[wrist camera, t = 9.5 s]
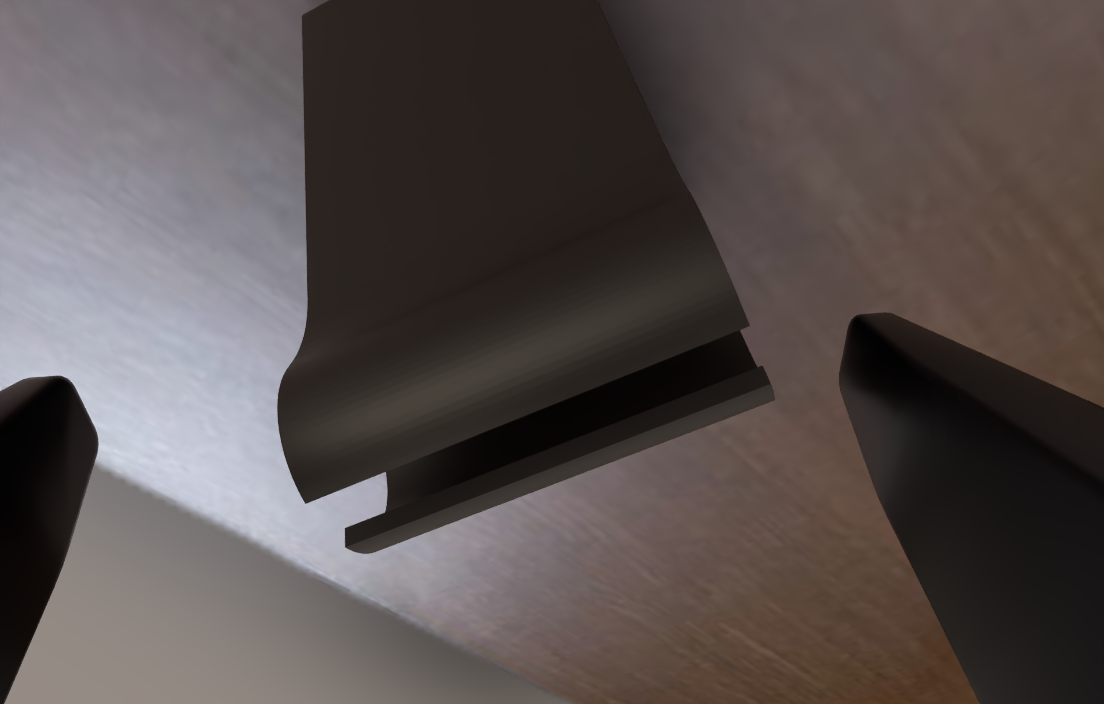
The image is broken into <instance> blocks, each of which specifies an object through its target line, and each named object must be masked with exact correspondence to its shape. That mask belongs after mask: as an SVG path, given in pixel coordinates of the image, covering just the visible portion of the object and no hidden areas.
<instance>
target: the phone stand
mask: <svg viewBox="0 0 1104 704" xmlns="http://www.w3.org/2000/svg"><path fill="white" fill-rule="evenodd" d="M302 39H303V89H304V139H305V189H306V240H307V290H308V310H307V321H306V328H305V333H304V337H303V341H302V343H301V346H300V349H299V351H298V353H297V355H296V357H295V358H294V360H293V362H292V363H291V364H290V366H289V367H288V368H287V370H286V372H285V373H284V375H283V378H282V380H281V384H280V388H279V393H278V406H277V412H278V425H279V433H280V438H281V443H282V447H283V451H284V455H285V458H286V461H287V464H288V467H289V470H290V473H291V475H292V478H293V480H294V482H295V485H296V487H297V489H298V491H299V493H300V495H301V497H302V499H303V500H304V502H305V504H306V503H309V502H311V501H314V500H316V499H319V498H321V497H324V496H326V495H329V494H331V493H334V492H336V491H339V490H341V489H344V488H346V487H349V486H351V485H354V484H356V483H359V482H361V481H364V480H366V479H369V478H371V477H374V476H376V475H379V474H381V473H384V472H386V477H387V487H388V497H387V507H386V511H385V513H383V514H380V515H378V516H375V517H373V518H370V519H367V520H365V521H362V522H360V523H357V524H355V525H352V526H349V527H347V528H345V547H346V548H347V549H349V550H352V551H354V552H357V553H363V554H369V553H373V552H376V551H379V550H381V549H384V548H387V547H389V546H392V545H395V544H397V543H400V542H403V541H405V540H408V539H410V538H413V537H416V536H418V535H421V534H424V533H426V532H429V531H431V530H434V529H437V528H439V527H442V526H445V525H447V524H450V523H453V522H455V521H458V520H460V519H463V518H466V517H468V516H471V515H474V514H476V513H479V512H482V511H484V510H487V509H489V508H492V507H495V506H497V505H500V504H503V503H505V502H508V501H510V500H513V499H516V498H518V497H521V496H524V495H526V494H529V493H532V492H534V491H537V490H539V489H542V488H545V487H547V486H550V485H553V484H555V483H558V482H560V481H563V480H566V479H568V478H571V477H574V476H576V475H579V474H582V473H584V472H587V471H589V470H592V469H595V468H597V467H600V466H603V465H605V464H608V463H611V462H613V461H616V460H618V459H621V458H624V457H626V456H629V455H632V454H634V453H637V452H639V451H642V450H645V449H647V448H650V447H653V446H655V445H658V444H661V443H663V442H666V441H668V440H671V439H674V438H676V437H679V436H682V435H684V434H687V433H689V432H692V431H695V430H697V429H700V428H703V427H705V426H708V425H711V424H713V423H716V422H718V421H721V420H724V419H726V418H729V417H732V416H734V415H737V414H740V413H742V412H745V411H747V410H750V409H753V408H755V407H758V406H761V405H763V404H766V403H768V402H771V401H774V400H775V397H774V393H773V389H772V386H771V383H770V381H769V379H768V376H767V374H766V372H765V370H764V368H763V366H760V367H758V368H757V366H756V364H755V362H754V360H753V358H752V356H751V353H750V351H749V349H748V347H747V345H746V343H745V340H744V338H743V336H742V334H741V332H740V330H741V329H743V328H746V327H748V326H750V325H749V323H748V320H747V318H746V315H745V313H744V310H743V308H742V305H741V303H740V300H739V298H738V296H737V293H736V291H735V288H734V286H733V284H732V281H731V279H730V277H729V274H728V272H727V270H726V267H725V265H724V263H723V260H722V258H721V256H720V253H719V251H718V249H717V247H716V244H715V242H714V240H713V238H712V236H711V233H710V231H709V229H708V227H707V225H706V223H705V221H704V218H703V216H702V214H701V212H700V210H699V208H698V206H697V204H696V202H695V201H694V199H693V197H692V195H691V193H690V192H689V190H688V189H687V187H686V186H685V184H684V182H683V181H682V179H681V177H680V175H679V173H678V171H677V169H676V168H675V166H674V164H673V162H672V160H671V158H670V155H669V153H668V151H667V149H666V147H665V145H664V143H663V141H662V139H661V137H660V134H659V132H658V130H657V128H656V126H655V124H654V122H653V119H652V117H651V115H650V113H649V111H648V109H647V107H646V104H645V102H644V100H643V98H642V96H641V94H640V92H639V89H638V87H637V85H636V83H635V81H634V79H633V77H632V74H631V72H630V70H629V68H628V66H627V64H626V62H625V59H624V57H623V55H622V53H621V51H620V49H619V47H618V44H617V42H616V40H615V38H614V36H613V34H612V32H611V29H610V27H609V25H608V23H607V21H606V19H605V17H604V14H603V12H602V10H601V8H600V6H599V4H598V2H597V0H330V1H328V2H326V3H324V4H322V5H320V6H318V7H317V8H315V9H313V10H311V11H309V12H307V13H305V14H304V15H302Z"/></svg>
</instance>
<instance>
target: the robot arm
mask: <svg viewBox="0 0 1104 704" xmlns="http://www.w3.org/2000/svg"><path fill="white" fill-rule="evenodd" d="M839 386H840V391H841V395H842V397H843V400H844V403H845V406H846V409H847V412H848V414H849V417H850V420H851V423H852V426H853V429H854V431H855V434H856V437H857V440H858V443H859V446H860V448H861V451H862V454H863V457H864V460H865V463H866V465H867V468H868V471H869V474H870V477H871V480H872V482H873V485H874V487H875V490H876V493H877V495H878V498H879V500H880V502H881V504H882V507H883V509H884V511H885V513H886V515H887V517H888V519H889V521H890V523H891V525H892V527H893V529H894V531H895V533H896V535H897V537H898V539H899V541H900V543H901V545H902V547H903V549H904V552H905V554H906V556H907V558H908V560H909V562H910V564H911V566H912V568H913V570H914V572H915V574H916V576H917V578H918V580H919V582H920V584H921V586H922V588H923V590H924V592H925V594H926V596H927V598H928V600H929V602H930V604H931V606H932V608H933V610H934V612H935V614H936V616H937V618H938V620H939V622H940V624H941V626H942V628H943V630H944V632H945V634H946V636H947V638H948V640H949V642H950V644H951V646H952V648H953V650H954V652H955V654H956V656H957V658H958V660H959V662H960V664H961V666H962V668H963V670H964V672H965V674H966V676H967V678H968V680H969V682H970V684H971V686H972V688H973V690H974V692H975V694H976V697H977V699H978V701H979V703H980V704H1104V408H1103V407H1101V406H1099V405H1096V404H1094V403H1092V402H1090V401H1087V400H1085V399H1083V398H1081V397H1078V396H1076V395H1074V394H1072V393H1069V392H1067V391H1065V390H1063V389H1061V388H1058V387H1056V386H1054V385H1052V384H1049V383H1047V382H1045V381H1043V380H1040V379H1038V378H1036V377H1034V376H1031V375H1029V374H1027V373H1025V372H1022V371H1020V370H1018V369H1016V368H1013V367H1011V366H1009V365H1007V364H1004V363H1002V362H1000V361H998V360H995V359H993V358H991V357H989V356H986V355H984V354H982V353H980V352H977V351H975V350H973V349H971V348H968V347H966V346H964V345H962V344H959V343H957V342H955V341H953V340H951V339H948V338H946V337H944V336H942V335H939V334H937V333H935V332H933V331H930V330H928V329H926V328H924V327H921V326H919V325H917V324H915V323H912V322H910V321H908V320H906V319H903V318H901V317H899V316H897V315H894V314H892V313H886V312H883V313H871V314H860V315H856V316H855V317H854V318H853V319H852V320H851V322H850V324H849V326H848V330H847V335H846V340H845V346H844V351H843V356H842V361H841V366H840V372H839ZM97 452H98V436H97V432H96V429H95V427H94V425H93V423H92V421H91V419H90V417H89V415H88V413H87V411H86V408H85V406H84V404H83V402H82V400H81V398H80V396H79V394H78V392H77V390H76V388H75V386H74V385H73V383H72V382H71V381H70V380H69V379H67V378H65V377H63V376H46V377H32V378H27V379H23V380H21V381H19V382H17V383H15V384H13V385H11V386H9V387H7V388H6V389H4V390H2V391H0V704H4V703H5V700H6V698H7V696H8V694H9V691H10V689H11V687H12V684H13V682H14V680H15V677H16V675H17V673H18V670H19V668H20V666H21V663H22V661H23V659H24V656H25V654H26V652H27V650H28V647H29V645H30V642H31V640H32V638H33V635H34V633H35V631H36V629H37V626H38V624H39V622H40V619H41V617H42V615H43V612H44V610H45V607H46V605H47V603H48V601H49V598H50V596H51V594H52V591H53V589H54V587H55V584H56V582H57V579H58V577H59V574H60V571H61V569H62V566H63V564H64V561H65V558H66V555H67V552H68V549H69V545H70V542H71V539H72V536H73V533H74V529H75V526H76V522H77V519H78V515H79V512H80V509H81V506H82V502H83V499H84V496H85V492H86V489H87V486H88V483H89V479H90V475H91V473H92V469H93V466H94V463H95V459H96V456H97Z"/></svg>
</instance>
